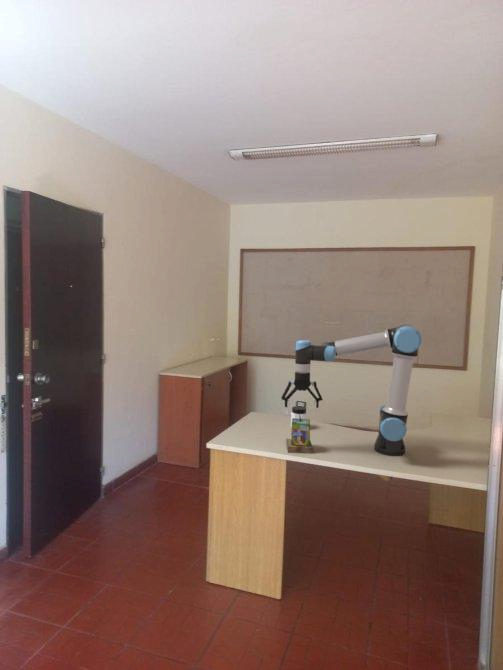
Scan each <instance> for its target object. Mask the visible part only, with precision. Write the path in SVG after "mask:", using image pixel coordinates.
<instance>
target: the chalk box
mask: <svg viewBox="0 0 503 670" xmlns="http://www.w3.org/2000/svg"><path fill="white" fill-rule="evenodd" d="M299 417H300V413H299ZM290 439H291V445H298V446H310V441H311V421H310V419H309V418H308V419H301V417H300V418H299V419H296V418H292V428H291V437H290Z"/></svg>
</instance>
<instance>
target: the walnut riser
mask: <svg viewBox="0 0 503 670" xmlns="http://www.w3.org/2000/svg"><path fill="white" fill-rule="evenodd" d="M285 445H286V449H287V453H292V454H313V452H314V450H313V449H314V447H313V444H312V441H311V440H310V446H298V445H291V438H286V442H285Z"/></svg>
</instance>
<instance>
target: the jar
mask: <svg viewBox="0 0 503 670" xmlns="http://www.w3.org/2000/svg"><path fill="white" fill-rule="evenodd" d="M290 412H291V413H290V428H291V429H292V418H296V419H299V418H300V417H301V419H307V418H308V417H307V416H308V413H307V408H306V407H305V406H300V405H296V406H292V407H291V411H290ZM299 413H300V417H299Z"/></svg>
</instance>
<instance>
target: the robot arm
mask: <svg viewBox="0 0 503 670" xmlns="http://www.w3.org/2000/svg"><path fill="white" fill-rule="evenodd" d="M421 344H422V336H421V333H420V331H419V330H418V329H417V328H416V327H414V326H412V325H411V324H402V325H399V326H395V327H392V328H387V329H385V331H383V332H376V333H372V334H366V335H361V336H356V337H350V338H346V339H345V338H344V339H339V340H335V341H329V342H328V341H325V342H323V343H321V344H320V345H318V344H317V345H315V344H312V341H311V340H306V339H305V340H303V339H301V340H300V339H299V340H297V341H296V342H295V353H294V354H295V355H294V356H295V357H294V363H295V364H294V371H295V372H294V381H291V380H288V382H287V386H286V387H285V390H284V391H283V393H282V395H281V397H280V399H281V400H282V401H284V407H285V408H286V414H287V415H290V413H289V412H290V400H289V399H290V398H291V397H293V395H294V394H295V393H296V392H297V391H303V392H306V391H308V392H309V394H310V395H311V396H312V398H313V399H314V401H313V402H314V403H313V415H314V416H316V415H317V409H318V408H319V406H320V405H319V403H320V401H321V402H322V401H323V397H322V394H321V392H320V391H319V388H318V387H317V382H316V380H314V381H311V361H319V362H326V363H328V362H335V360H336V357H337V356H342V355H347V354H354V353H359V352H360V353H361V352H364V351H365V352H366V351H372V350H377V349H378V350H379V349H383V348H389V349H391V354H392V355H393V357H394V358H393V362H392V369H391V370H392V371H391V375H390V381H389V388H388V395H387V401H386V404H383V405H380V409H379V419H378V420H379V423H378V435H377V437H376V439H375V442H374V446H373V448H374V451H375V452H377V453H379V454H382V455H387V456H393V457H398V456H402V455H405V454H406V446H405V442H404V437H405V436H406V434H407V430H408V429H407V422H408V415H409V412H407V410H406V409H407V408H406V407H407V401H408V395H409V389H410V382H411V377H412V371H413V366H414V360H415V359H416V358H418V356H419V351H420V346H421ZM293 385H294V387H293V389H292V390H291V391H290V388H291V387H292V386H293ZM310 386H312V387H313V388H314V390H315V392H316V394H317V396H318V397H317V396H316V395H315V393H314V392H313V391H312V389H311V388H310ZM288 392H289V393H288Z"/></svg>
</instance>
